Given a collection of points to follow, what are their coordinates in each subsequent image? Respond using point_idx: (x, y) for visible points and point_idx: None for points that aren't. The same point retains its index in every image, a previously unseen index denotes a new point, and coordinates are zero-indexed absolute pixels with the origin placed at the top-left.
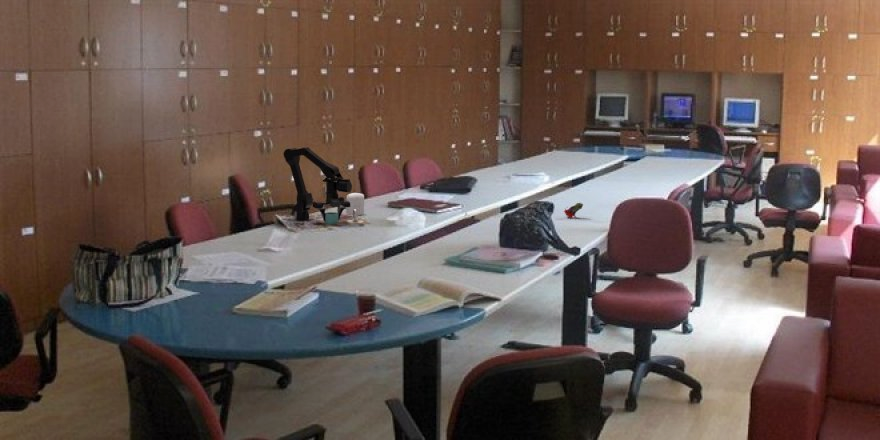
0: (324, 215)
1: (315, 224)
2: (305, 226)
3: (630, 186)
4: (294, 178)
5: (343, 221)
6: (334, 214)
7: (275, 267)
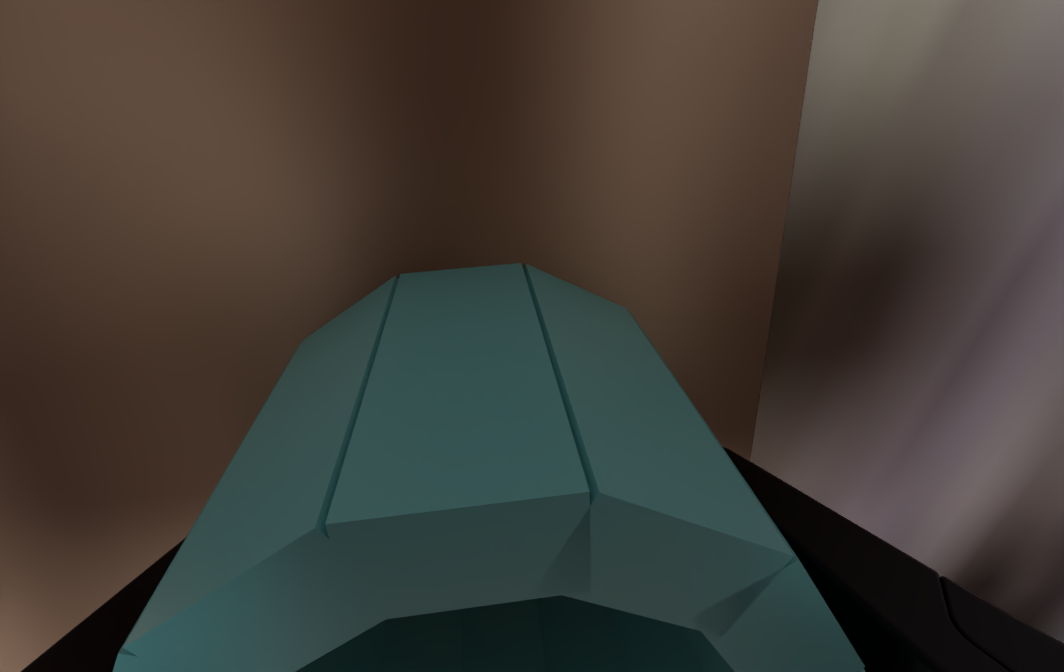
0: (880, 575)
1: None
2: (1059, 402)
3: None
4: None
5: (98, 606)
6: (395, 512)
7: None
